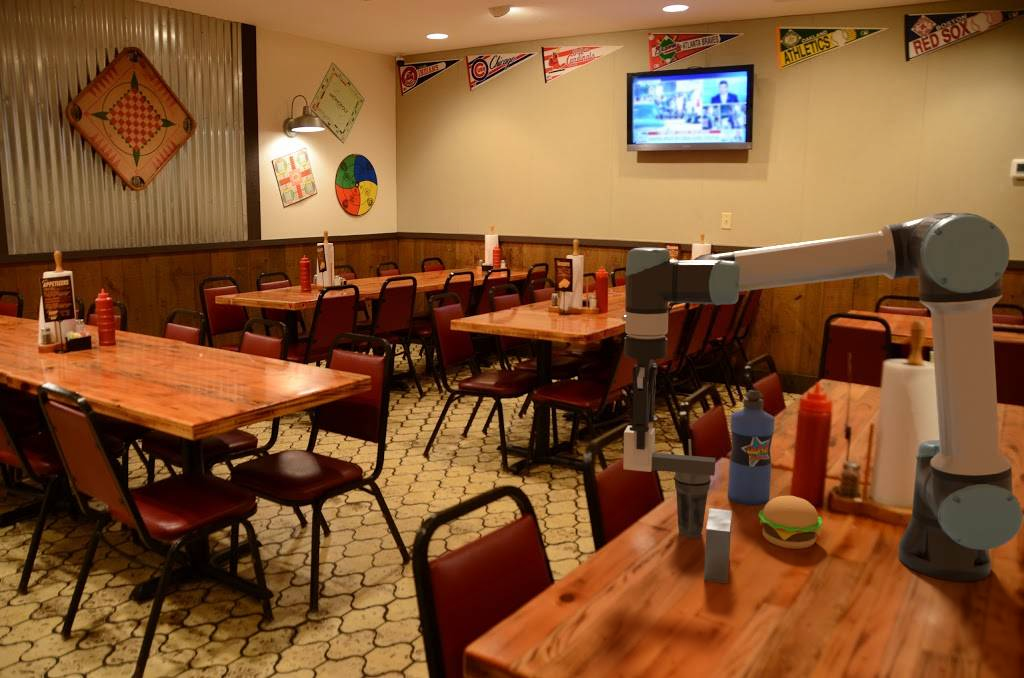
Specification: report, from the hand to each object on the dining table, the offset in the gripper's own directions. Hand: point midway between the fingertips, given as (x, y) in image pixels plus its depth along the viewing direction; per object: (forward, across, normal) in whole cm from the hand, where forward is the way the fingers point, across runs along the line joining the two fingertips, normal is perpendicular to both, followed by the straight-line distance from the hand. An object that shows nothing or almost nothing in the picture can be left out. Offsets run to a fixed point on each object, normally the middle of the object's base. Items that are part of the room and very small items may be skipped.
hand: (642, 460), depth 148 cm
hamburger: (+20, -18, +27) cm, 38 cm away
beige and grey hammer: (+1, 0, +5) cm, 5 cm away
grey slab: (+19, 0, +14) cm, 24 cm away
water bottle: (+20, -39, +19) cm, 48 cm away
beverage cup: (+20, -15, +8) cm, 26 cm away
